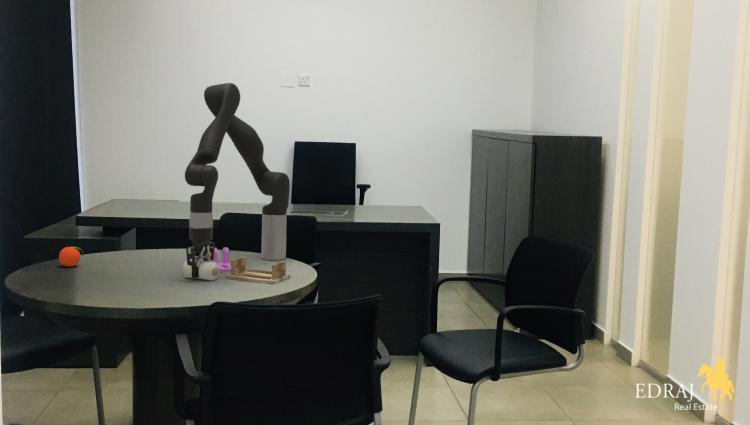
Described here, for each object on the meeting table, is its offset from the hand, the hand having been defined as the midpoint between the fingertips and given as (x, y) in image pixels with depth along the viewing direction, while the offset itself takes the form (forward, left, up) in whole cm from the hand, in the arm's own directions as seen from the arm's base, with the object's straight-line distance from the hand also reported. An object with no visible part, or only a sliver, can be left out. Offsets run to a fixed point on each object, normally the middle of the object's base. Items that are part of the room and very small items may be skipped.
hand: (200, 275), depth 252 cm
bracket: (-18, -2, -1) cm, 18 cm away
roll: (0, 0, -1) cm, 1 cm away
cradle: (-10, +16, -1) cm, 19 cm away
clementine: (+4, -49, -1) cm, 49 cm away
